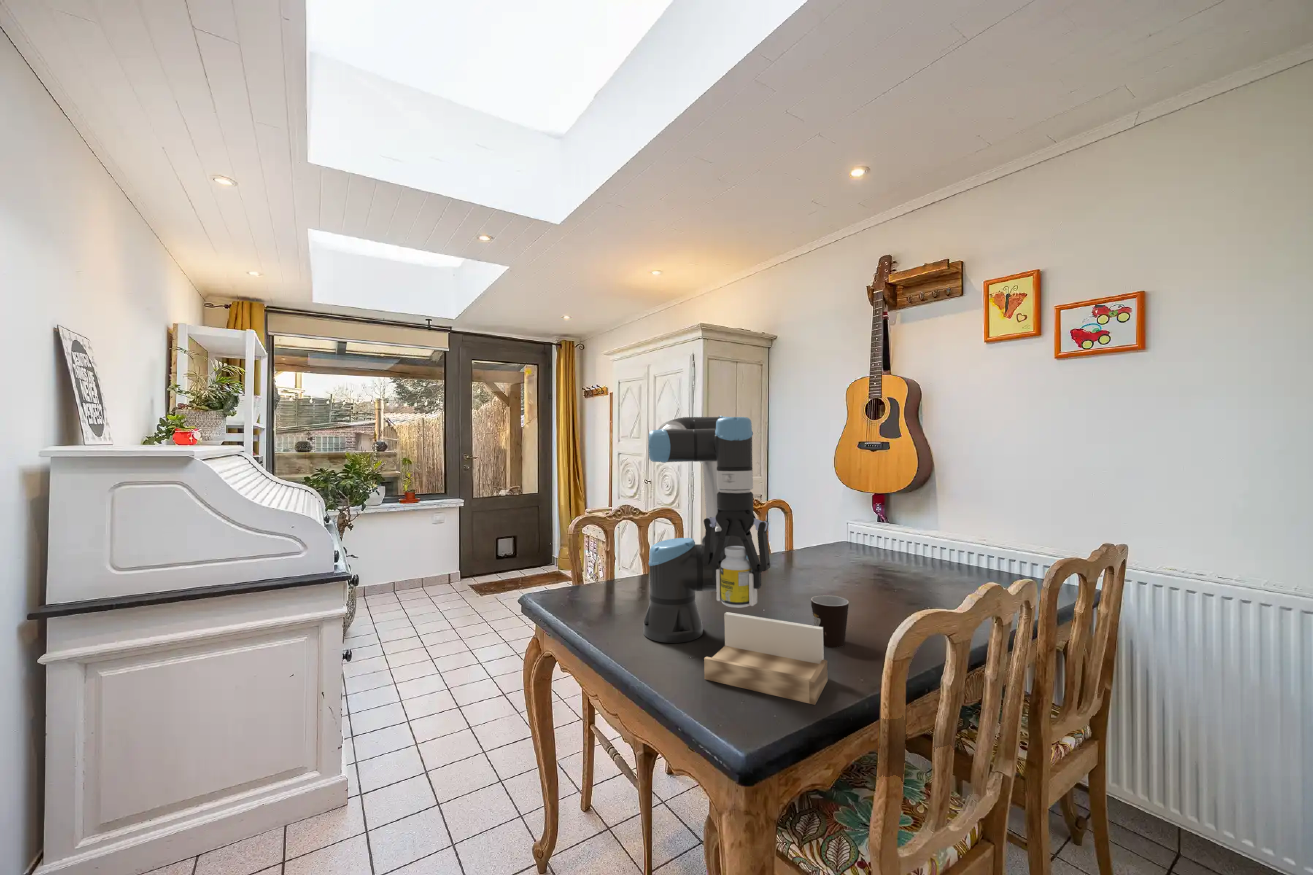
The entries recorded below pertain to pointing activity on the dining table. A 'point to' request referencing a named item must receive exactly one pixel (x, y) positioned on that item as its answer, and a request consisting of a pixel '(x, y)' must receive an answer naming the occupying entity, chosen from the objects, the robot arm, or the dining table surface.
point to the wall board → (774, 637)
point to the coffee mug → (831, 618)
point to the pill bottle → (735, 577)
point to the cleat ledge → (767, 673)
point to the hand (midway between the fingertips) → (736, 601)
